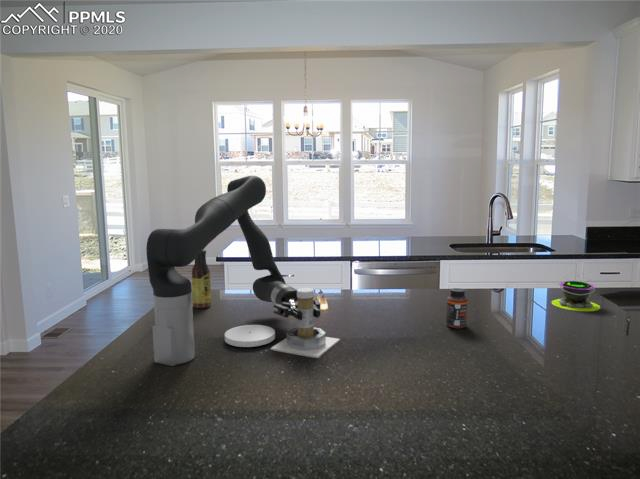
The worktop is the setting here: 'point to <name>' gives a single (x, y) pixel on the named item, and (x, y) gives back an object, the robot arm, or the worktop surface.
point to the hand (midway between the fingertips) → (309, 315)
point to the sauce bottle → (201, 282)
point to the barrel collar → (306, 340)
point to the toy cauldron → (576, 296)
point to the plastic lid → (249, 335)
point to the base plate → (313, 353)
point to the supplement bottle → (456, 309)
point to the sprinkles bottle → (306, 312)
